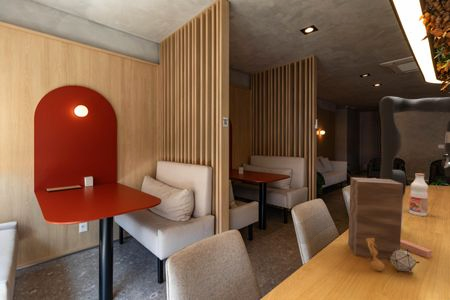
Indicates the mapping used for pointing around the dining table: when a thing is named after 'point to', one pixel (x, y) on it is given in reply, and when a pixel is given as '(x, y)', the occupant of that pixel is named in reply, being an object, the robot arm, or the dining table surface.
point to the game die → (403, 260)
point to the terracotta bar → (416, 249)
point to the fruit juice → (419, 196)
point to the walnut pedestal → (375, 216)
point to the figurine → (375, 263)
